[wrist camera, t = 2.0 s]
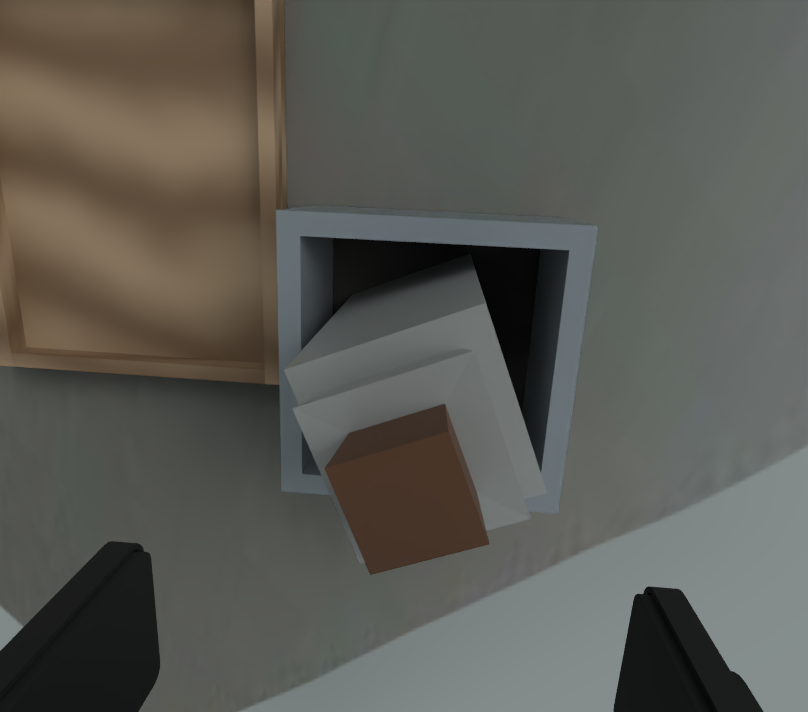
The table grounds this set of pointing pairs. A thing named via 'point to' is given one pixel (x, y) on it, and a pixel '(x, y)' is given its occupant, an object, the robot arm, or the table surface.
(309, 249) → the grey storage bin
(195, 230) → the tray
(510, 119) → the table surface
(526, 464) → the perfume bottle
